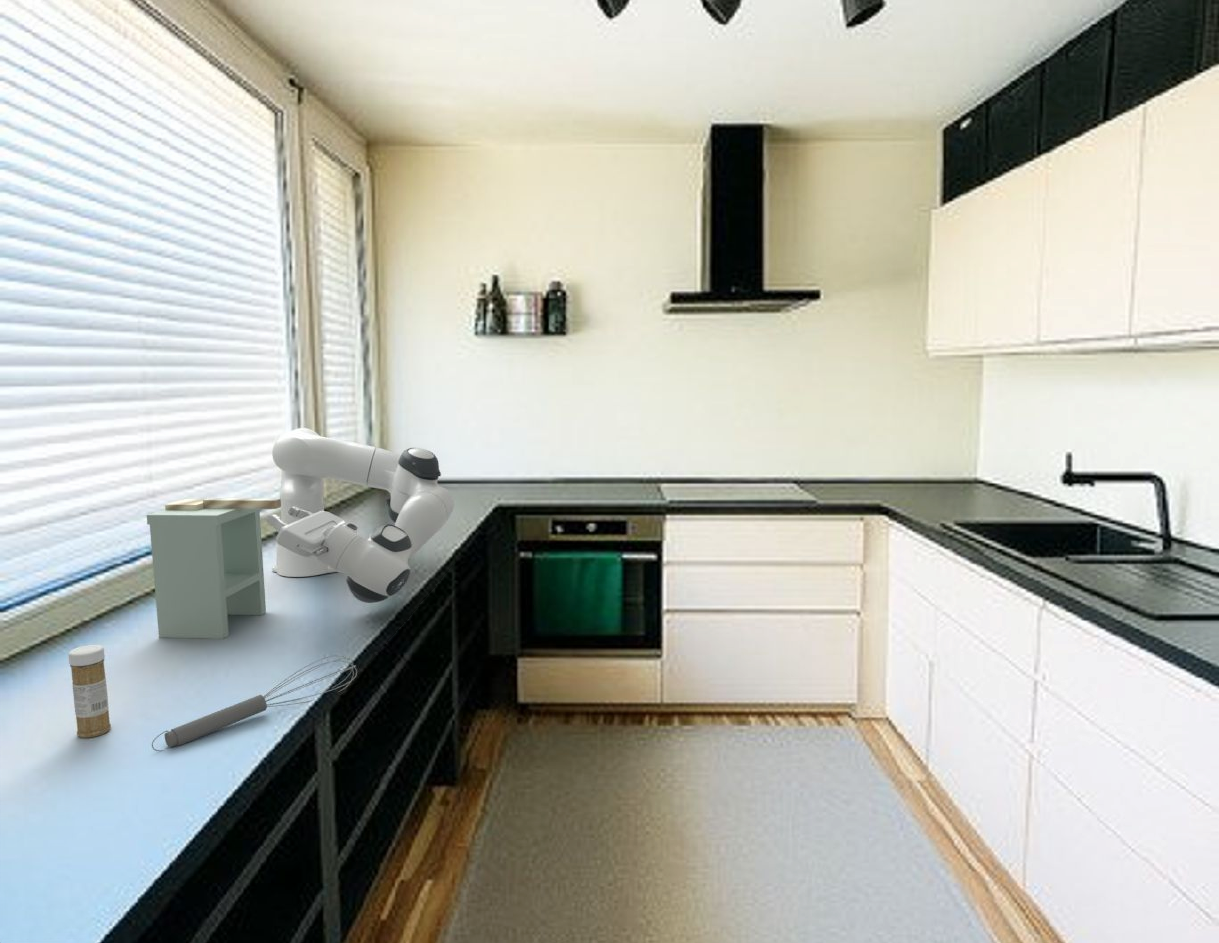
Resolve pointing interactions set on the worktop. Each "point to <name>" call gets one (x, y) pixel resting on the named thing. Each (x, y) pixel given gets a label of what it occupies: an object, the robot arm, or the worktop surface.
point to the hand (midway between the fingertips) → (280, 513)
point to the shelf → (206, 569)
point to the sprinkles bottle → (89, 690)
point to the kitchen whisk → (236, 712)
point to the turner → (224, 504)
